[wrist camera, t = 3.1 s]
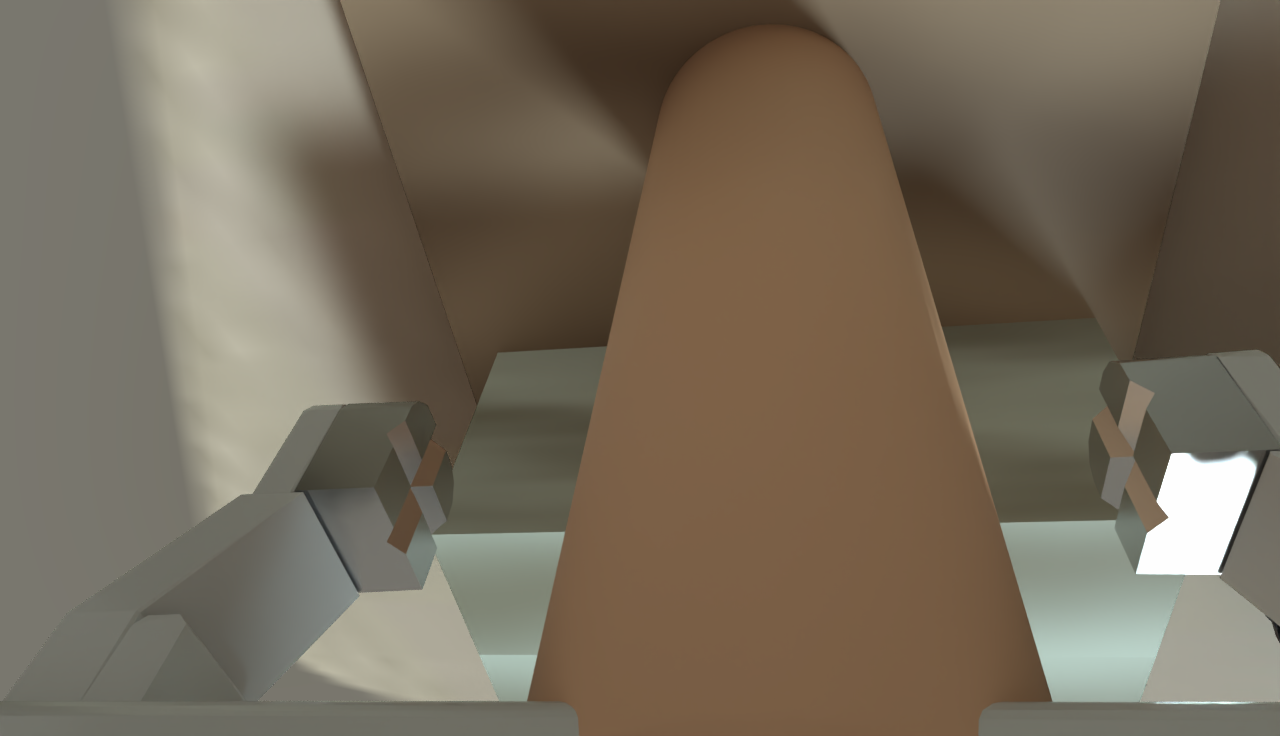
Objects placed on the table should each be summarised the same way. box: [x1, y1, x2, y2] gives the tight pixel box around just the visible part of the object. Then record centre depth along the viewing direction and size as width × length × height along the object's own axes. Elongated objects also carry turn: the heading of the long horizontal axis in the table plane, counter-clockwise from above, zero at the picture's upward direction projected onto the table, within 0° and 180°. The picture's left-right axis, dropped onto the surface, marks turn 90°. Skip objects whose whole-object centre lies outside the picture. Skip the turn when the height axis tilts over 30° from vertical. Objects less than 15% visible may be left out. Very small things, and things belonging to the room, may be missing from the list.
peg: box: [527, 24, 1053, 736], centre depth 12 cm, size 4×4×14 cm
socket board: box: [340, 0, 1221, 702], centre depth 20 cm, size 24×16×8 cm, turn 9°
